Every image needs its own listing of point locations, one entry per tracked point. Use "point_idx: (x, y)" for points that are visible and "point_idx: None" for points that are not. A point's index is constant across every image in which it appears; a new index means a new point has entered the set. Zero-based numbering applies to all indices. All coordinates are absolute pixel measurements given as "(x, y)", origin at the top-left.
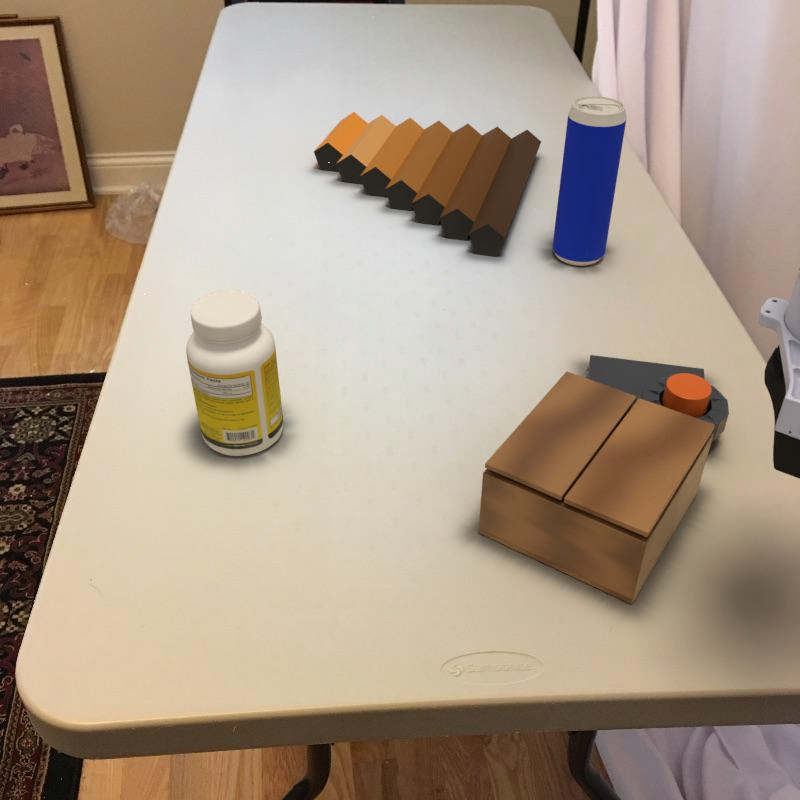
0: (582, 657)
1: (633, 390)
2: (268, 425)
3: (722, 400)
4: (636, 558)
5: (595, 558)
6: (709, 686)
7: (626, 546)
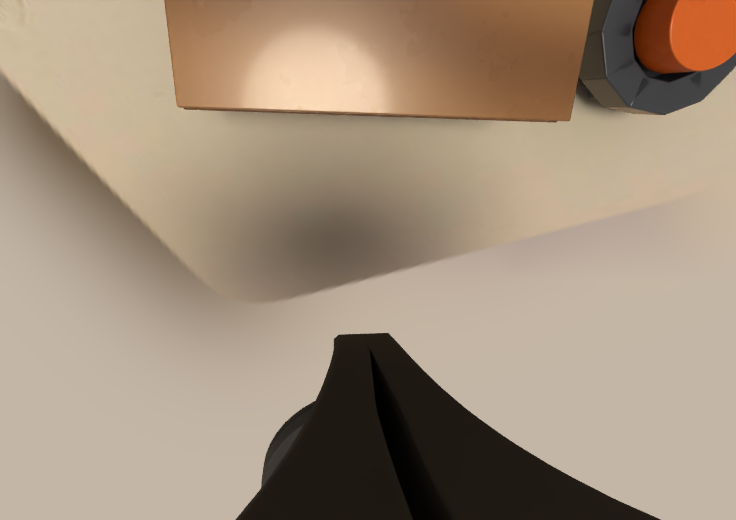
0: (81, 76)
1: None
2: None
3: (698, 92)
4: None
5: None
6: (164, 240)
7: None
